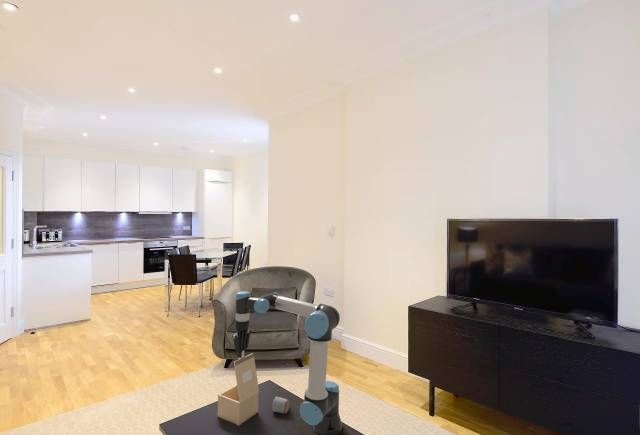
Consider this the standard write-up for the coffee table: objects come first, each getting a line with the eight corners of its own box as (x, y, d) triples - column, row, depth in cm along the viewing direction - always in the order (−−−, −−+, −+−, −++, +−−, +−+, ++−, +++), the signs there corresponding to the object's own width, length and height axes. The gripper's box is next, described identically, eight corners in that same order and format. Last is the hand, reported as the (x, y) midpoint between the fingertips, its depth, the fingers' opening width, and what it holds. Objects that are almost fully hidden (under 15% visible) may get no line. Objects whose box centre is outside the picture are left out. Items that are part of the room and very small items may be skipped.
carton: (258, 412, 198) (258, 391, 198) (238, 425, 185) (239, 403, 185) (237, 404, 206) (237, 384, 206) (217, 416, 193) (218, 394, 193)
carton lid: (258, 391, 198) (259, 391, 197) (239, 402, 185) (240, 402, 185) (252, 353, 200) (253, 353, 200) (233, 361, 188) (234, 361, 187)
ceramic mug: (285, 416, 194) (285, 402, 194) (271, 414, 197) (271, 400, 197) (292, 407, 204) (292, 393, 205) (279, 404, 207) (279, 391, 207)
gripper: (245, 316, 202) (244, 357, 202) (228, 321, 191) (227, 364, 191) (255, 318, 198) (254, 360, 198) (238, 324, 187) (237, 368, 187)
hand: (241, 362), depth 195 cm, fingers closed
